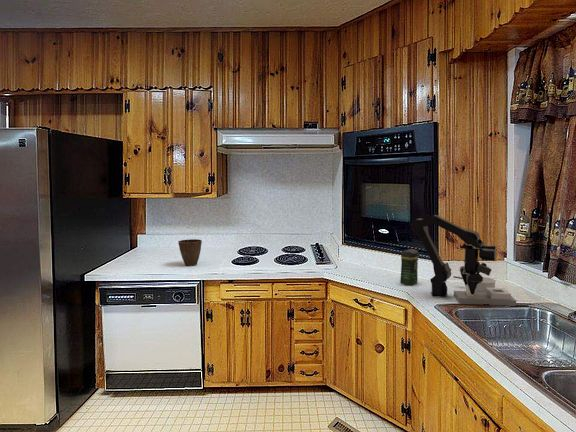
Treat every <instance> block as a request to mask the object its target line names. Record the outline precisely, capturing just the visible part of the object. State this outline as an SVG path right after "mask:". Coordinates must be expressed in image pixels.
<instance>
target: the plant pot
mask: <svg viewBox="0 0 576 432" xmlns="http://www.w3.org/2000/svg"><path fill="white" fill-rule="evenodd" d="M202 241H203V240H202V239H194V238H191V239H182V240H178V241H177V243H178V247H179V252H180V254H181V258H182V261H183V263H184V266H186V267H194V266H197V264H198V261H199V259H200V255H201V252H202V251H201V250H202V249H201V248H202Z"/></svg>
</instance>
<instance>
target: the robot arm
mask: <svg viewBox="0 0 576 432" xmlns="http://www.w3.org/2000/svg"><path fill="white" fill-rule="evenodd" d="M431 225H436V226H437V227H440V228H442V229H443V230H446V231H448V232H450V233H451V234H454V235H455V236H456V237H458V238H459V239H460V240H461V241H463V242H464V243H463V244H462V245H461V246H460V247H459V248H460V249H463V250H464V259H463V263H464V265H462V266H460V267H459V273H460V275H461V276H460V277H462V278H463V279H462V281H463V283H464V285H465V287H466V285H467V284H468V287H469V290H470V293H471V294H472V295H474V292H476V291H475V290H476V287H477V284H479V283H481V282H482V281H483V277H484V276H482V275H481V274H480V273H482V274H484V275H486V276H490V274H491V273H492V268H491V267H489V266H487V264H486V263H485V262H480V261H479V259H481V260H483V261H488V262H491V261H492V262H496V261H497V257H498V256H497V255H498V252H497V251H498V250H497V245H486V244H484V242H483V240H482V239H481V235H480V233H479V232H478V231H476V230H473V229H468V228H464V227H462V226H459V225H457V224H456V223H453V222H451V221H450V220H447V219H445V218H443V217H441V216H440V215H439V214H434V215H432V216H430V217H426V218H421V217H420V218H416V219H412V221H411V222H410V228H411V229H412V231H413V232H414V234H415V235H417V237H418V238H419V239H420V241H421V243H422V245H423V247H424V248H425V251H426V253H427V255H428V257H429V259H430V261H431V263H432V267H433V273H434V276H432V277H431V278H430V285H431V288H430V289H431V291H430V294H431V297H436V298H437V297H438V298H439V297H441V298H447V295H448V286H447V283H446V282H447V280H448V279H450V278H451V276H452V268H451V267H450V265H449V262H446V263H445V262H444V261H443V260H442V258H441V256H440V254H439V252H438V250H437V248H436V246H435V243H434V242H433V240H432V238H431V236H430V234H429V227H428V226H431Z"/></svg>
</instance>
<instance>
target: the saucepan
mask: <svg viewBox="0 0 576 432" xmlns="http://www.w3.org/2000/svg"><path fill="white" fill-rule="evenodd" d="M482 277H483V281H482V282H481V283H479V284H477V287H476V290H475V292H486V288H496V282H497V280H496V279H495V278H492V277H486V276H482ZM452 278H453V279H460V280H463V278H462V276H455V275H454V276H453V277H452Z"/></svg>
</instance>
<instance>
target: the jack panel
mask: <svg viewBox="0 0 576 432" xmlns="http://www.w3.org/2000/svg"><path fill="white" fill-rule="evenodd" d="M453 297H454V298H455V299H456V302H457V303H458V304H466V305H483V304H489V305H490V306H503V305H509V306H508V307H512V306H513V307H516V306H517V299H515V298H514V297H513V296H512V293H510V292H509V291H508V290H507V289H505V288H503V287H495V288H486V292H478V291H475V292H474V296H466V290H453ZM489 305H488V306H489Z"/></svg>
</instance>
